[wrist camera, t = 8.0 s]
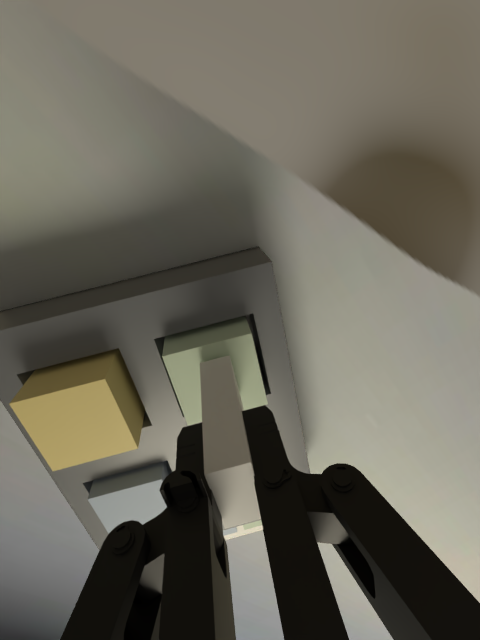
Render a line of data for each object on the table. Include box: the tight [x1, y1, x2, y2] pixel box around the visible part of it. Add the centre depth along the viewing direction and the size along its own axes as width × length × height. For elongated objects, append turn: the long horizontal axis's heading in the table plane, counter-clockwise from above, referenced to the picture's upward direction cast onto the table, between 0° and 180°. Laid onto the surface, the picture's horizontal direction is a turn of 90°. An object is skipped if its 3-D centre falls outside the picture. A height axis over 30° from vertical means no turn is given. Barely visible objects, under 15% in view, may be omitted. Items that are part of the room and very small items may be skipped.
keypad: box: [0, 247, 310, 550], centre depth 21 cm, size 15×18×4 cm
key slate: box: [88, 460, 172, 533], centre depth 22 cm, size 4×4×4 cm
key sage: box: [162, 316, 268, 426], centre depth 19 cm, size 4×4×4 cm
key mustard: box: [9, 348, 145, 471], centre depth 18 cm, size 4×4×4 cm
